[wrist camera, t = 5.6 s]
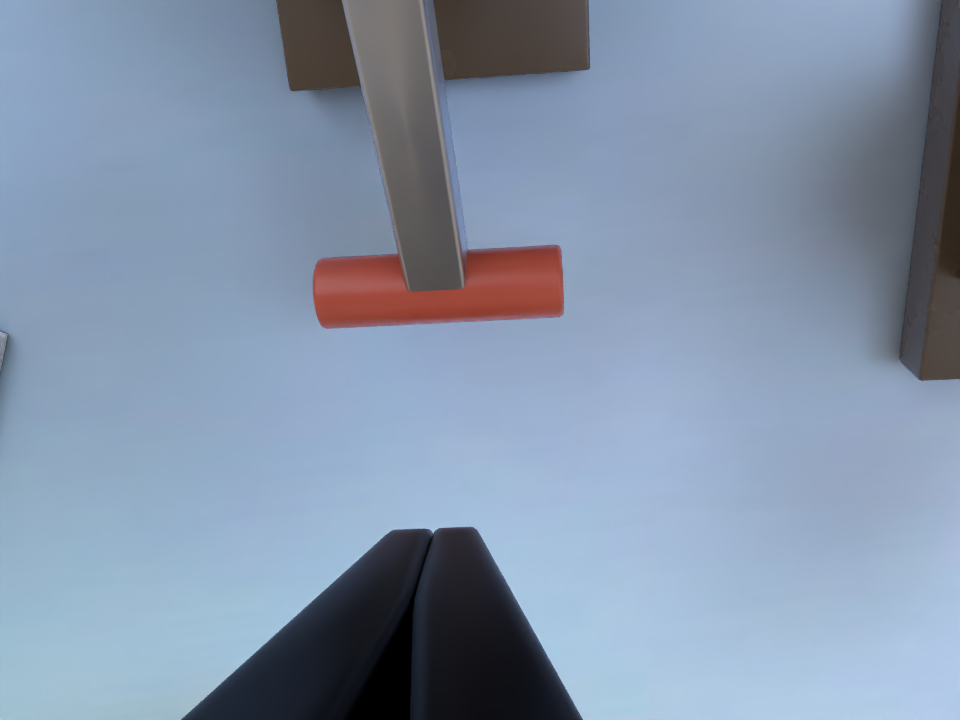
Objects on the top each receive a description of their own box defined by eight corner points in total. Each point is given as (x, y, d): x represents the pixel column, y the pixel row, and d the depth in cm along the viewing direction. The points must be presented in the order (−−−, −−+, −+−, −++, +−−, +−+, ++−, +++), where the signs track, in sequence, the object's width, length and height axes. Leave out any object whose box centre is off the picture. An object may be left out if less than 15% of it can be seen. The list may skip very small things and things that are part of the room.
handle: (560, 261, 17) (565, 353, 16) (337, 273, 17) (321, 365, 16) (537, -539, 9) (546, -508, 7) (107, -484, 9) (24, -442, 7)
